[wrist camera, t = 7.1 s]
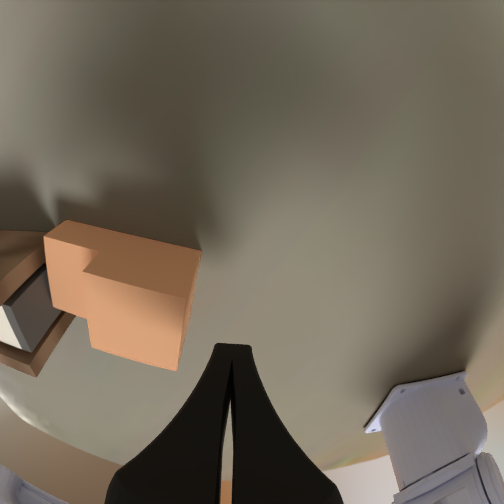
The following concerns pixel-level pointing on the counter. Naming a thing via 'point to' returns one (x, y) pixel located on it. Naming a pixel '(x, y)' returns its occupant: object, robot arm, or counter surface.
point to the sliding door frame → (9, 280)
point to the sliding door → (28, 312)
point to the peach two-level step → (124, 289)
